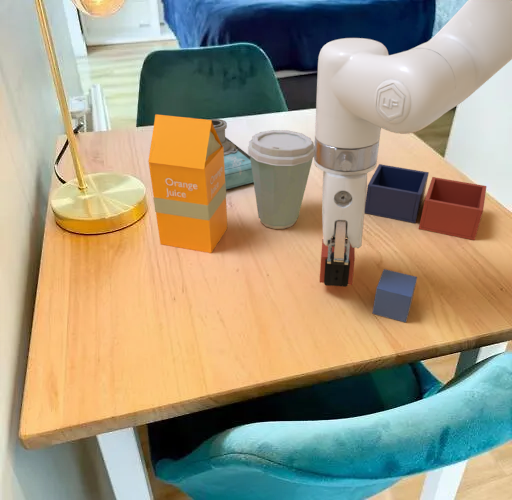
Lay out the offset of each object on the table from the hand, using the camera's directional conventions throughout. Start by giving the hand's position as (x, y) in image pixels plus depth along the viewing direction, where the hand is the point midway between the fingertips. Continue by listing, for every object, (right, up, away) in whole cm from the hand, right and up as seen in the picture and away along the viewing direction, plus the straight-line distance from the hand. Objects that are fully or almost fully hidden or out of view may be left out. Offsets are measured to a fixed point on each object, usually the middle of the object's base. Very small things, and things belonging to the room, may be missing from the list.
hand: (336, 272), depth 71 cm
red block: (0, 0, 0) cm, 0 cm away
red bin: (+21, +8, +15) cm, 27 cm away
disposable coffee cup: (-7, +8, +16) cm, 19 cm away
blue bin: (+13, +11, +19) cm, 25 cm away
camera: (-19, +18, +31) cm, 40 cm away
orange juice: (-21, +5, +12) cm, 25 cm away
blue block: (+7, -5, -3) cm, 9 cm away
